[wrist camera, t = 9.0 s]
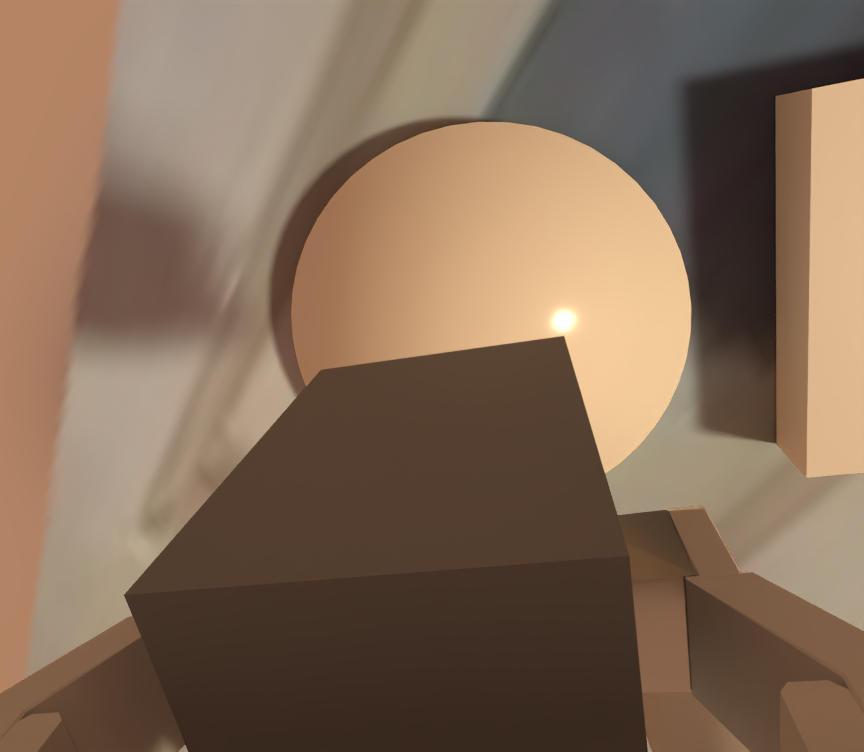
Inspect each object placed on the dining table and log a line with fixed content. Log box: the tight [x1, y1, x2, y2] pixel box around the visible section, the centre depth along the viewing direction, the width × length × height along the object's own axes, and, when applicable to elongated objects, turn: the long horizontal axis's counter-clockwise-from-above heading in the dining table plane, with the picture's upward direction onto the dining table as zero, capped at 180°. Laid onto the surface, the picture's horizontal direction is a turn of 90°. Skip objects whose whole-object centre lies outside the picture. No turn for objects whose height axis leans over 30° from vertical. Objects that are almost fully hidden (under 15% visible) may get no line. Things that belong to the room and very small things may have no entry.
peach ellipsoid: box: [291, 122, 691, 473], centre depth 22 cm, size 14×14×1 cm
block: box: [124, 336, 648, 752], centre depth 10 cm, size 5×5×7 cm
